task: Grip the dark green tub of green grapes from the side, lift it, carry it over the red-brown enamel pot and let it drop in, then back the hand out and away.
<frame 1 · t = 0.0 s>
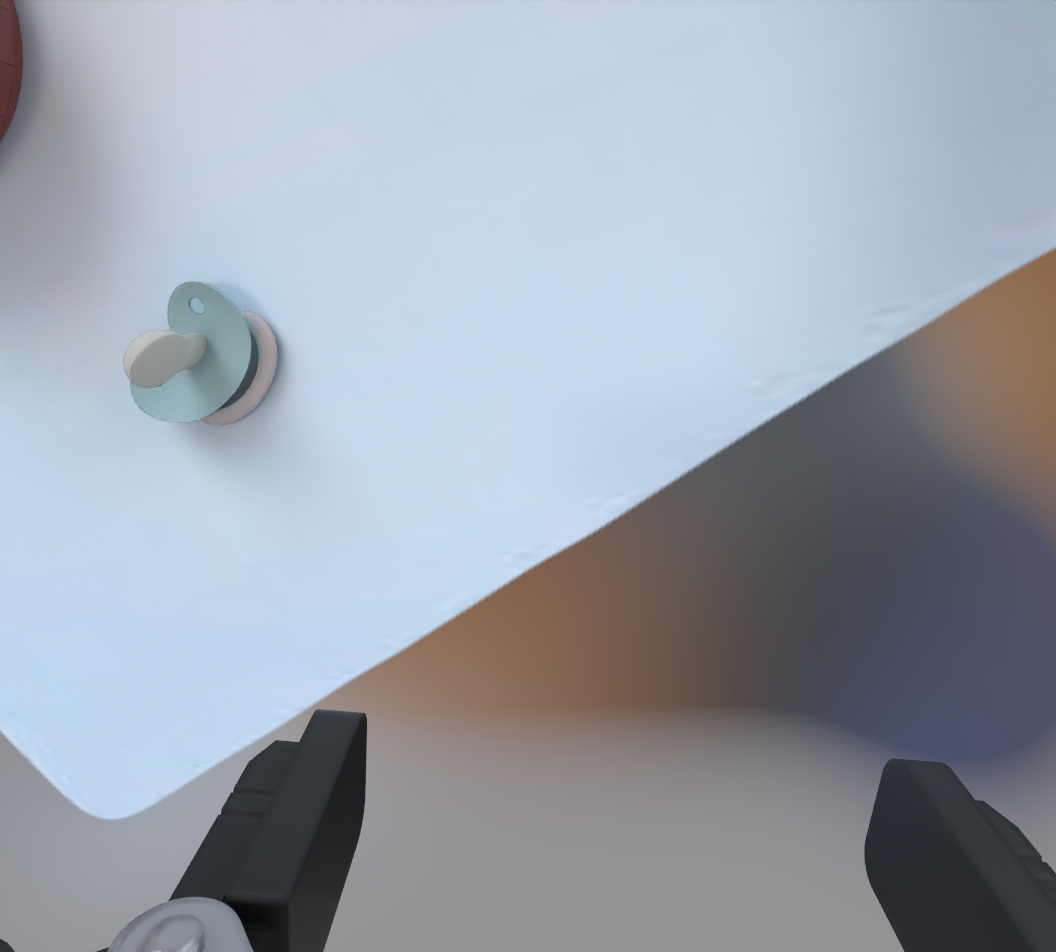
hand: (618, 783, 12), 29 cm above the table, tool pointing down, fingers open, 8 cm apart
pacifier: (220, 358, 40), on the table
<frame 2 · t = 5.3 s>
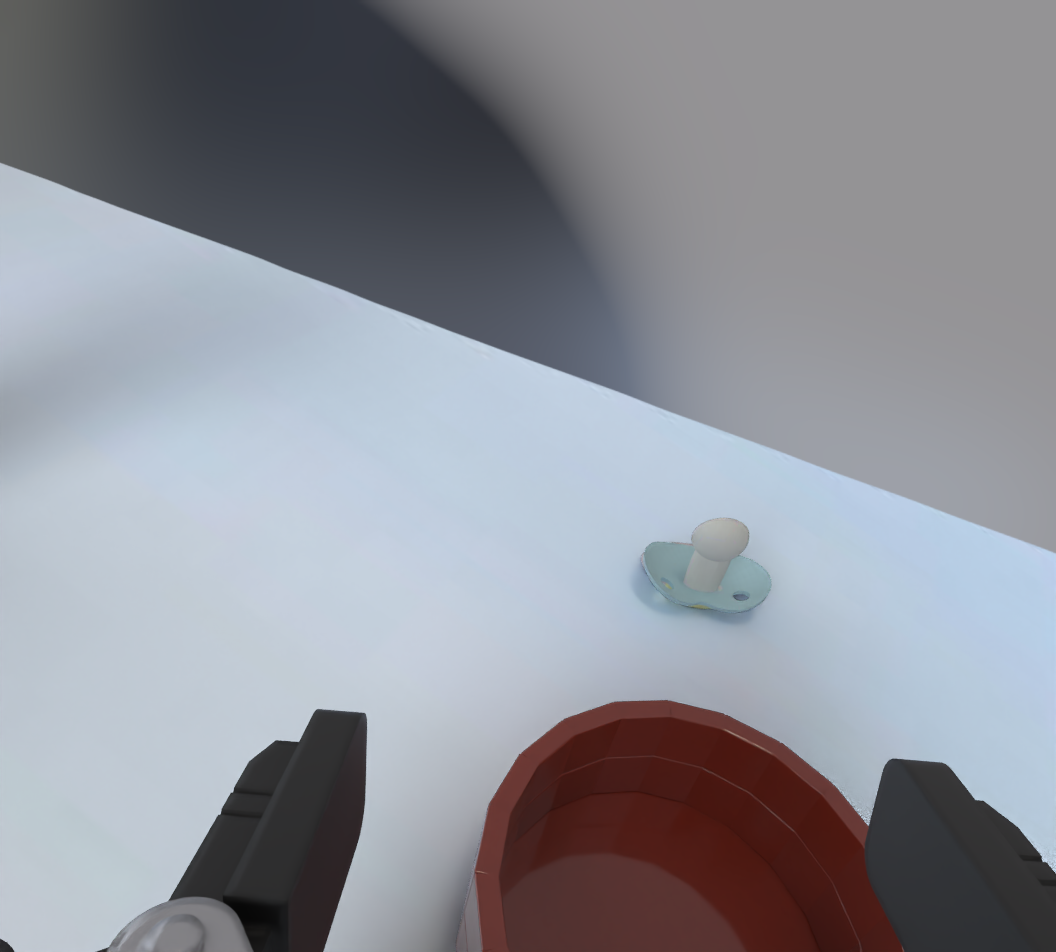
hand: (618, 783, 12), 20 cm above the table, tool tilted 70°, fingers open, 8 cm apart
pacifier: (692, 587, 45), on the table
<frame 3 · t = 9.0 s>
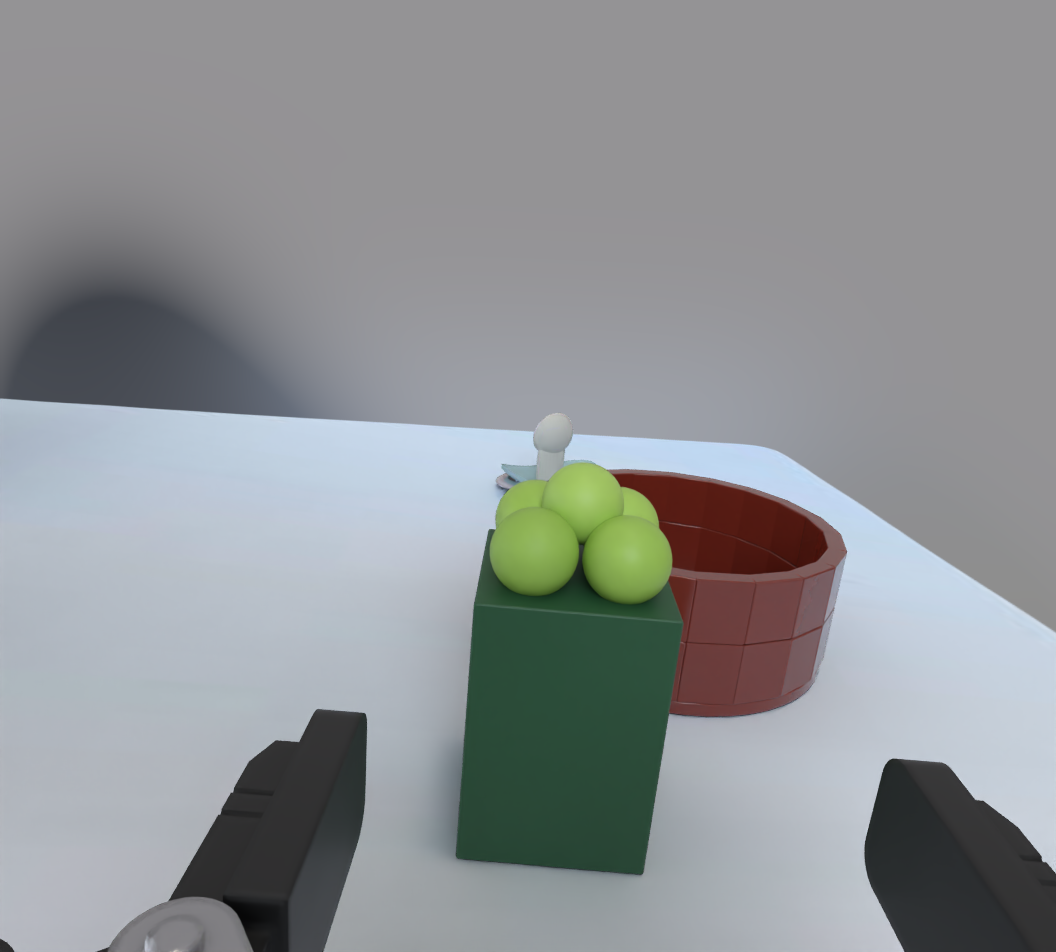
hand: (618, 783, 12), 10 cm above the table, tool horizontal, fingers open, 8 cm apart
grapes: (549, 801, 25), on the table
pot: (663, 628, 38), on the table
pacifier: (540, 493, 57), on the table
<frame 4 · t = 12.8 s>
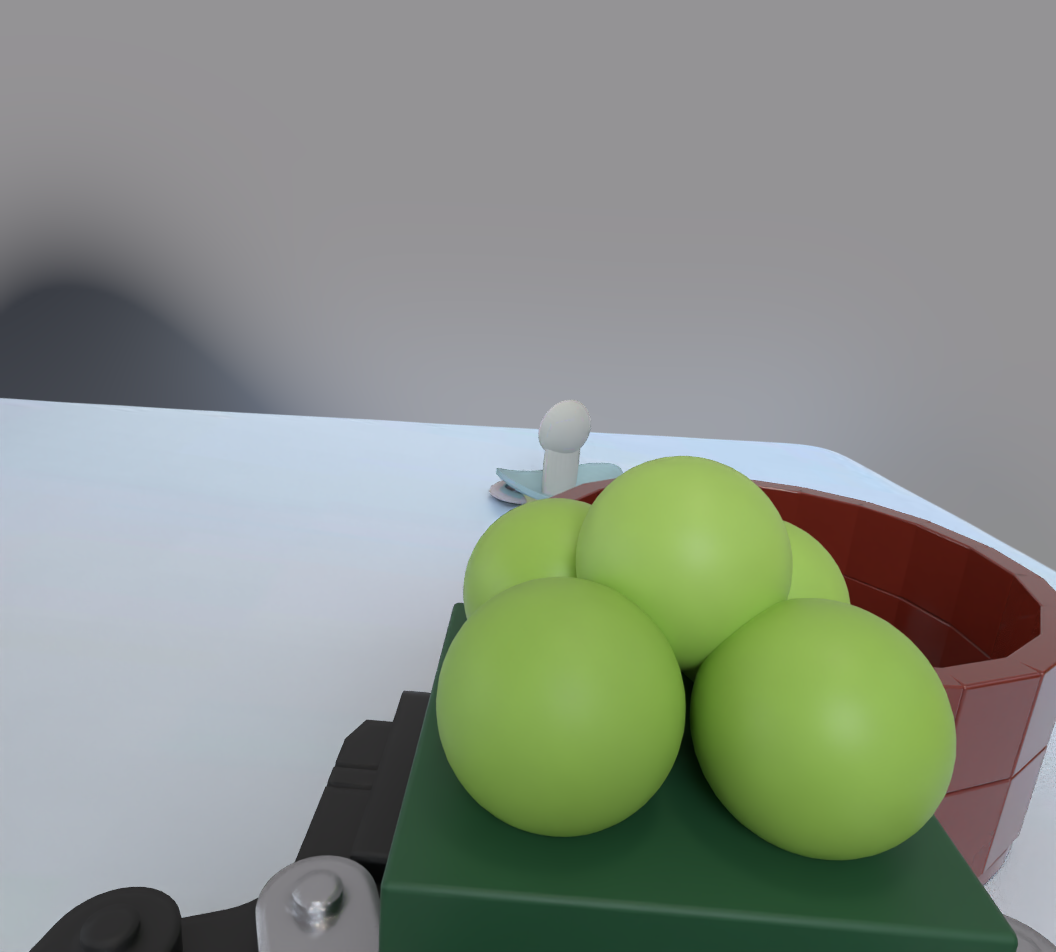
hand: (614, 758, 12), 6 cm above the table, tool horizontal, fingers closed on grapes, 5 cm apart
pot: (746, 724, 24), on the table
pacifier: (548, 506, 44), on the table
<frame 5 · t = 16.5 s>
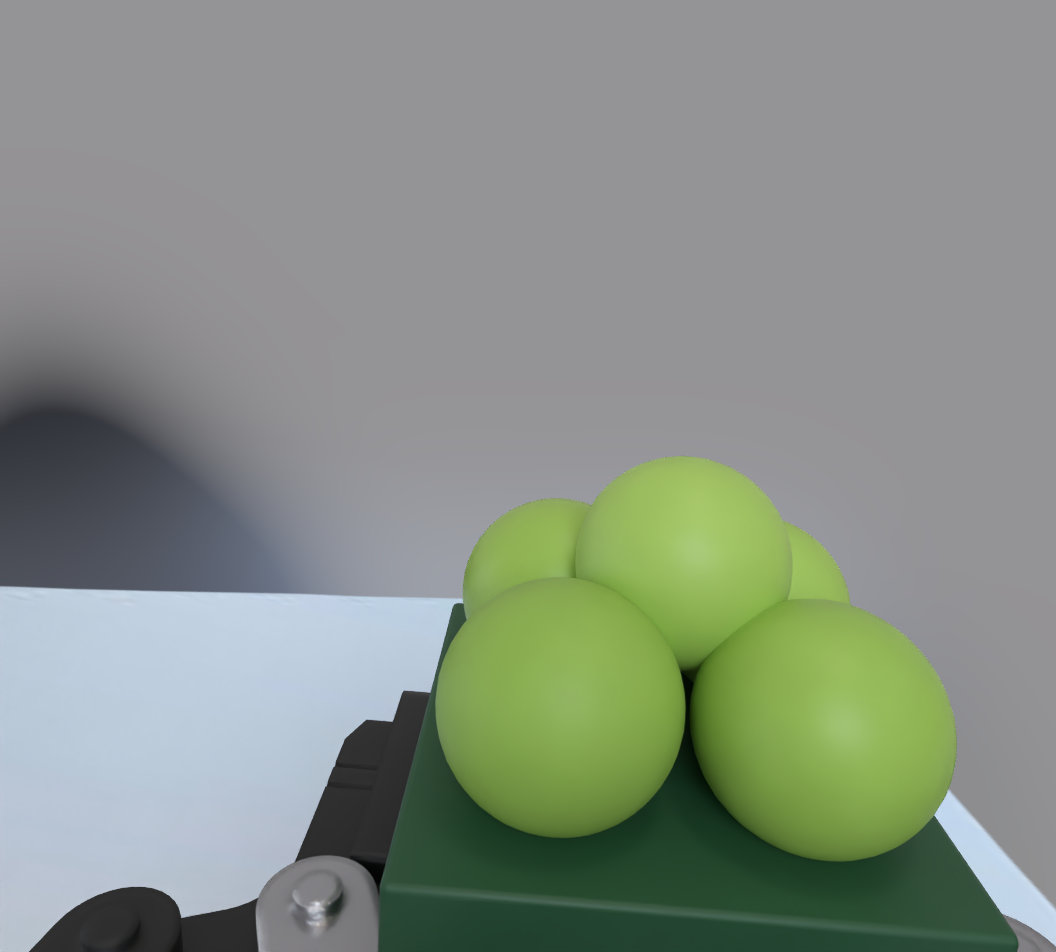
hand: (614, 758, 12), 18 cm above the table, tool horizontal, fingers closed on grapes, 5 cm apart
when the fingers open (8 cm above the table, at t = 20.6 s): grapes drops 2 cm, resting on pot.
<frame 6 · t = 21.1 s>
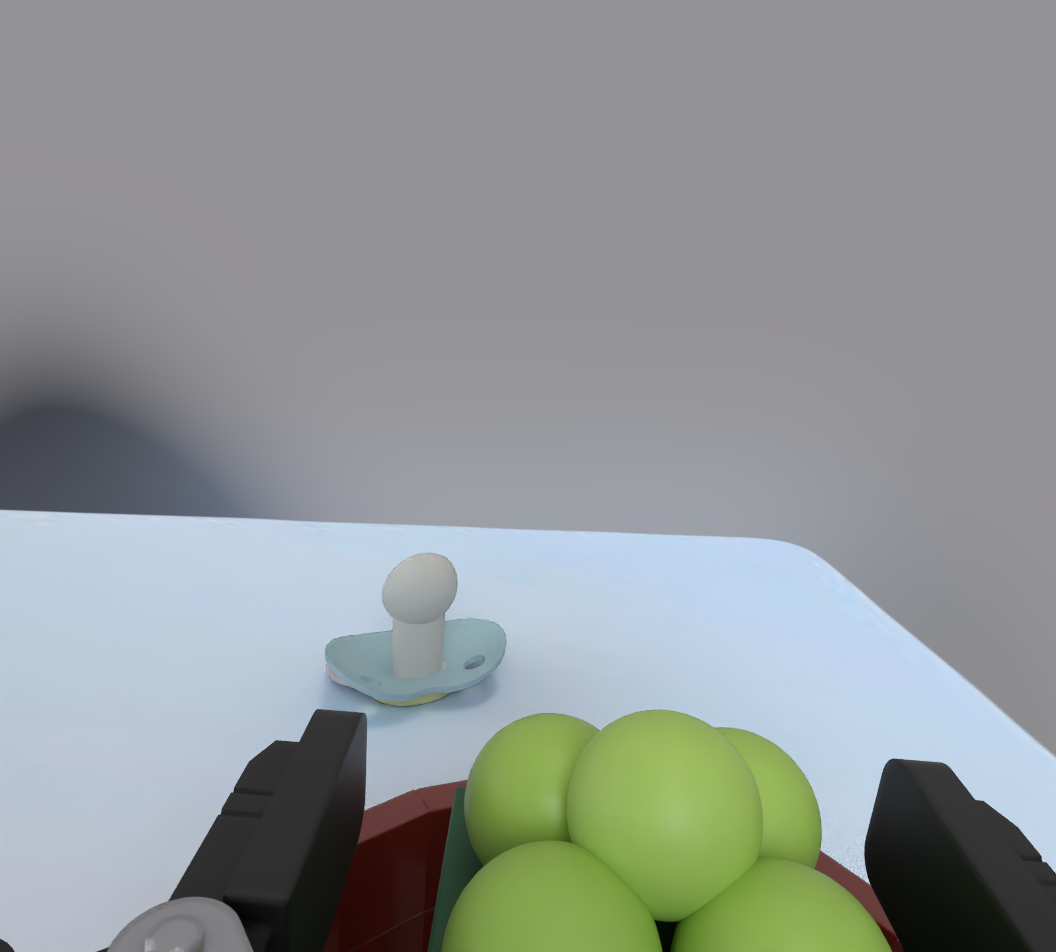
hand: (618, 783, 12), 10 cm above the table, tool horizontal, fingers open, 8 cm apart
pacifier: (408, 683, 32), on the table
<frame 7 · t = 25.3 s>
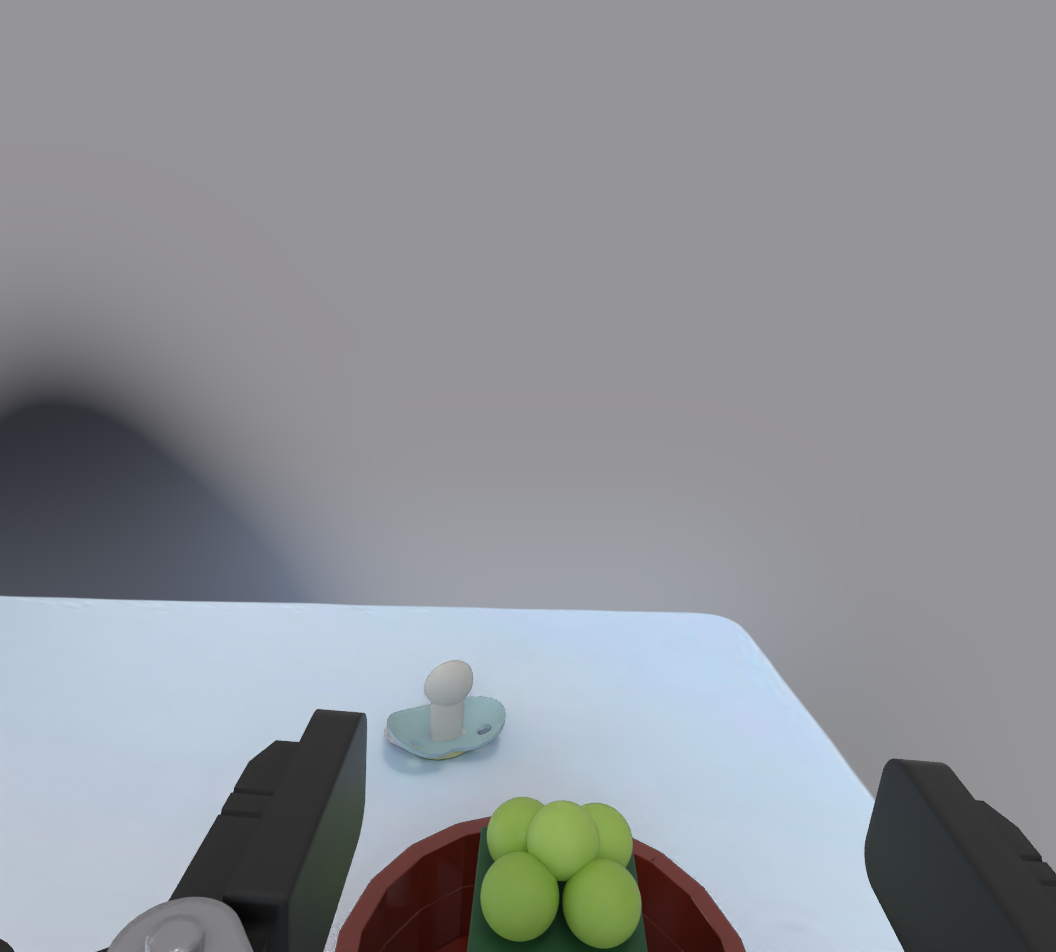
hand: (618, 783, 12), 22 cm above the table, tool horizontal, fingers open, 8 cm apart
pacifier: (439, 742, 48), on the table
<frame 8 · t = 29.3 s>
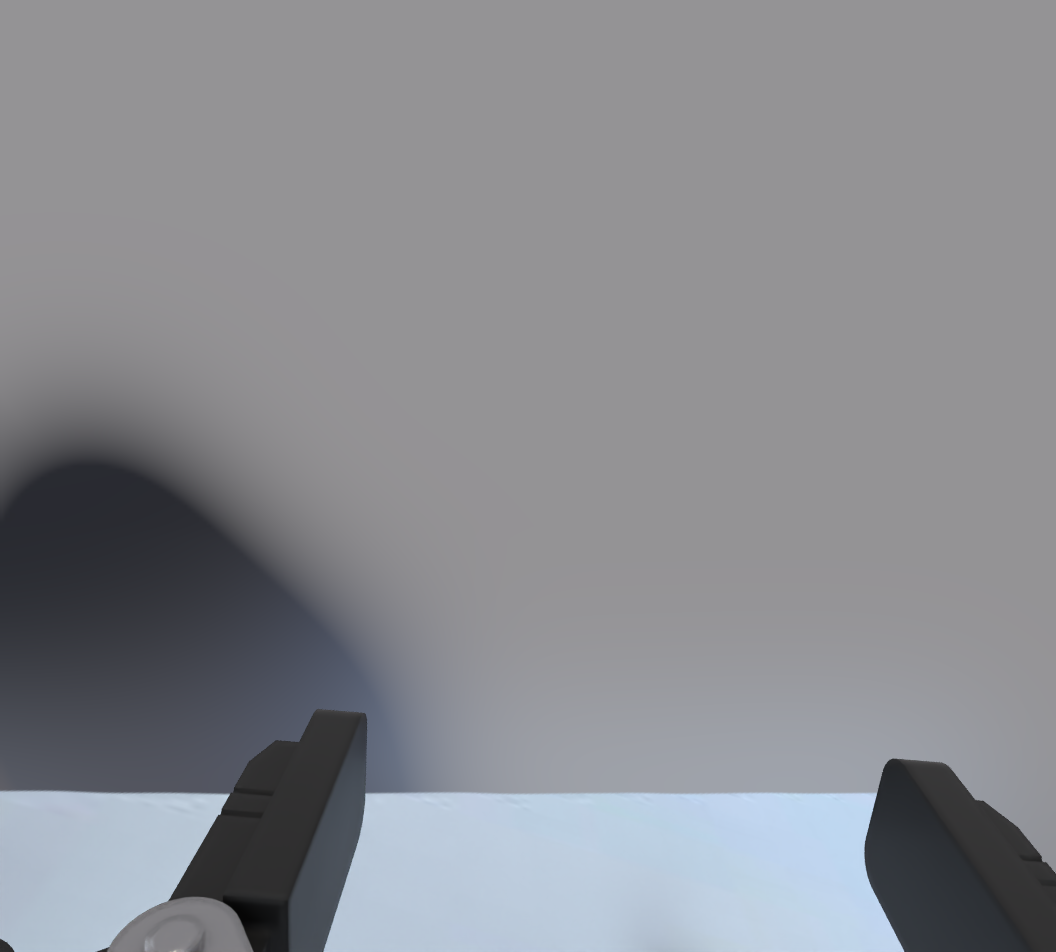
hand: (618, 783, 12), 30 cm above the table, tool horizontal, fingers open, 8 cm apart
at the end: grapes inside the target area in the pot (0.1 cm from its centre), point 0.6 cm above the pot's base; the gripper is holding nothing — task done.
